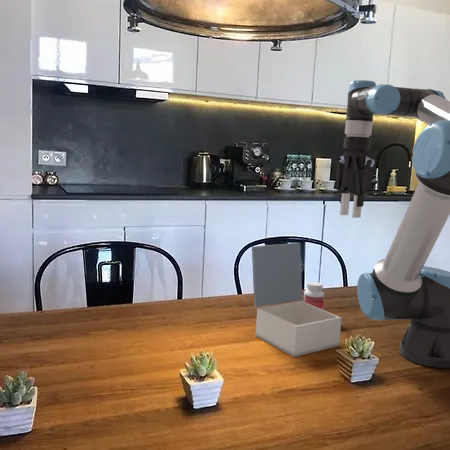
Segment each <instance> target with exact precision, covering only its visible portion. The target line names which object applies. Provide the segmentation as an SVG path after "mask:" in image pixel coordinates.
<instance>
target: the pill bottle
mask: <svg viewBox="0 0 450 450" xmlns="http://www.w3.org/2000/svg"><path fill="white" fill-rule="evenodd" d="M323 286H324V285H323V283H321V282H319V281H308V282H307V285H306V289H305V290H304V292H303V299H302V301H303V302H306V303H308V304H310V305H313V306H315V307H318V308H320V309H322V310H324V302H325V292H324V291H323V288H324V287H323Z"/></svg>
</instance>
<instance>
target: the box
mask: <svg viewBox="0 0 450 450" xmlns="http://www.w3.org/2000/svg"><path fill="white" fill-rule="evenodd" d="M256 308H257V309H256V322H255V323H256V324H255V337H257V338H259V339H261V340H263V341H264V342H266V343H268V344H269V345H272V346H273V347H275V348H277V349H279V350H280V351H282V352H284V353H285V354H287V355H290V356H291V357H293V358H297V357H300V356H301V357H302V356H305V355H307V354H312V353H316V352H321V351H324V350H328V349H333V348H336V347H339V345H340V339H341V329H342V327H341V326H342V316H341V317H340V316H339V315H336V314H334V313H332V312H329V311H327V310H325V309H323V310H322V309H320V308H318V307H315V306H313V305H310V304H308V303H306V302H303V300H296V301H290V302H284V303H278V304H272V305H266V306H260V307H256Z"/></svg>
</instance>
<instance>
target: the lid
mask: <svg viewBox="0 0 450 450" xmlns="http://www.w3.org/2000/svg"><path fill="white" fill-rule="evenodd" d="M301 251H302V250H301V242H293V243H282V244H281V243H279V244H270V245H269V244H268V245H258V246H251V260H252V262H251V263H252V281H253V283H252V284H253V285H252V286H253V287H252V289H253V307H254V308H260V307H266V306H272V305H278V304H284V303H290V302H296V301H303V285H302V283H303V281H302V257H301V256H302V254H301Z"/></svg>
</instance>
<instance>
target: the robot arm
mask: <svg viewBox="0 0 450 450" xmlns="http://www.w3.org/2000/svg"><path fill="white" fill-rule="evenodd" d="M446 98H447V97H446V96H445V94H444V93H443V92H442V91H440V90H434V89H432V88H424V89H423V88H412V87H411V88H410V87H399V86H394V85H392V84H383V83H382V84H377V83H376V82H375V81H374V80H367V79H366V80H365V79H362V80H361V79H359V80H356V79H355V80H353V81H350V83H349V87H348V92H347V103H346V118H345V125H344V126H345V127H344V134H345V135H346V136H345V137H343V149H344V153H343V155H341V156H336V158H335V162H336V173H335V175H336V176H335V178H336V179H335V186H334V187H335V188H334V189H335V190H336V191H339V192H340V196H339V203H340V210H339V212H340V213H339V215H340V216H349V210H350V200H351V199H350V197H351V193H350V192H351V191H350V190H349V189H350V186H351V182H352V178H353V174H354V173H355V186H356V187H355V189H356V190H355V191H356V193H354V195H353V205H352V216H351V218H354V219H357V218H361V215H362V208H363V207H364V201H365V197H366V195H369V194H371V192H372V185H373V177H374V171H375V170H374V169H375V167H376V164H377V160H376V159H371V158H370V155H369V151H371V150H370V149H371V143H372V139H371V138H370V137H371V135H372V132H373V121H374V115H379V116H380V115H382V116H396V117H398V116H399V117H407V118H408V117H409V118H416V119H417V120H419V121H421V122H424V123H425V124H427V126H425V127H424V128H423V129H422V130H421V131H420V133H419V135H418V136H417V138H416V140H415V142H414V144H413V147H412V154H413V155H412V157H411V163H412V168H413V170H414V172H415V173H414V175H415V178H416V181H418V184H417V186H416V188H415V190H414V193H413V195H412V198H411V200H410V202H409V204H408V207H407V209H406V211H405V214H404V216H403V218H402V220H401V222H400V225H399V227H398V229H397V231H396V234H395V235H394V238H393V240H392V242H391V245H390V247H389V249H388V252H387V254H386V256H385V258H384V259H383V258H382V259H380V260H378V261H377V262H376V263H375V266H374V267H373V269H372V272H371V273H370V272H365V273H362V274H360V275H359V277H358V279H357V286H356V287H357V288H356V292H357V300H358V305H359V307H360V310H361V312H362V314H363V315H364V316H365V317H366V318H367V319H369V320H374V321H400V320H401V321H402V320H409V325H408V326H407V329H406V331H405V332H404V334H403V336H402V338H401V340H400V343H399V349H398V350H399V351H398V352H399V354H400V355H401V356H402V357H403V358H405V359H406V360H407V361H411V362H413V363H414V364H415V363H416V364H418V365H422V366H424V367H425V366H426V367H430V368H437V369H450V271H449V270H444V269H440V268H437V267H432V266H425V264H426V263H427V261H428V258H429V256H430V255H431V252H432V251H433V249H434V246H435V245H436V242H437V240H438V238H439V237H440V235H441V233H442V230H443V229H444V227H445V225H446V223H447V220H448V218H449V217H450V100H449V99H446Z"/></svg>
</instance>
